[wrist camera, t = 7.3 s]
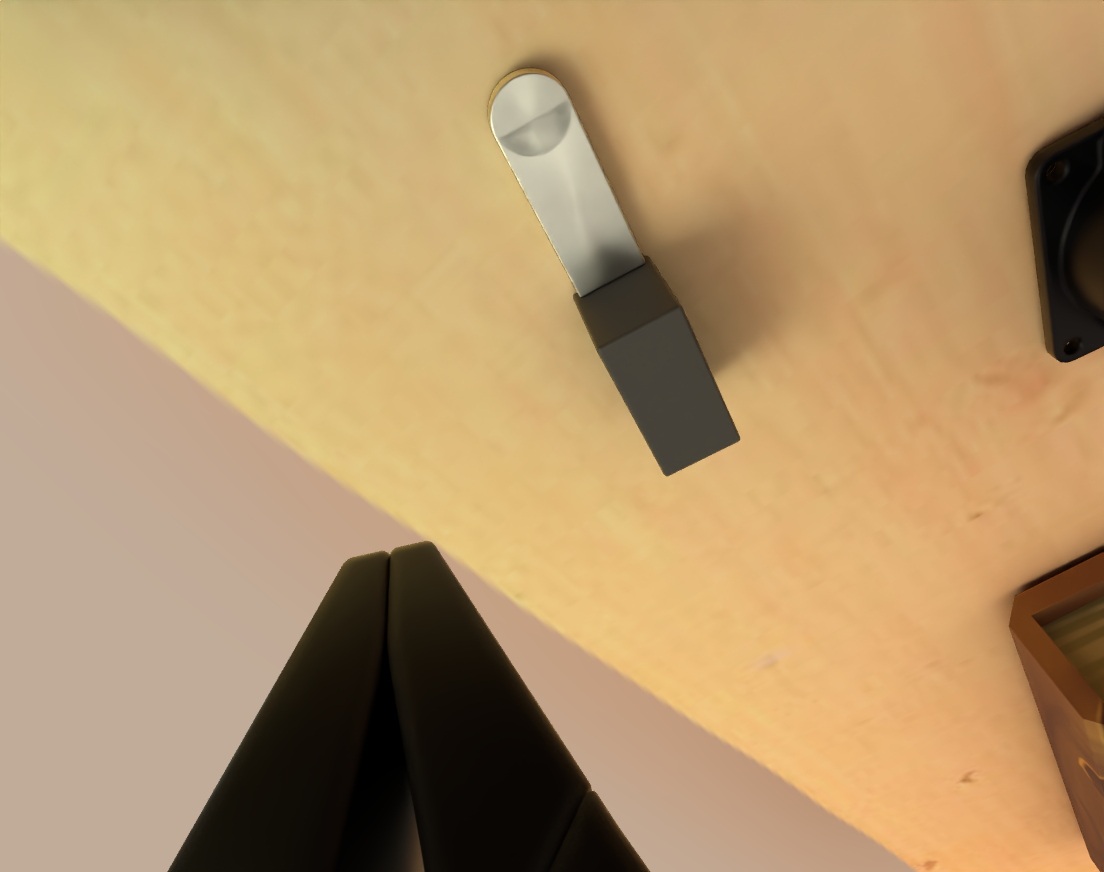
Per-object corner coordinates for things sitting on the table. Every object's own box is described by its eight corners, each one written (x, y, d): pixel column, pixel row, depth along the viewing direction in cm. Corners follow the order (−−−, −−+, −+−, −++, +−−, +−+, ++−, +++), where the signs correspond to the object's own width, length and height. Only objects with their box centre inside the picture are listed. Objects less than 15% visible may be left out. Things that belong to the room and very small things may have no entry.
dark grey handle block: (706, 382, 22) (741, 441, 20) (637, 417, 23) (666, 478, 21) (554, 47, 17) (582, 81, 15) (465, 98, 17) (481, 138, 15)
